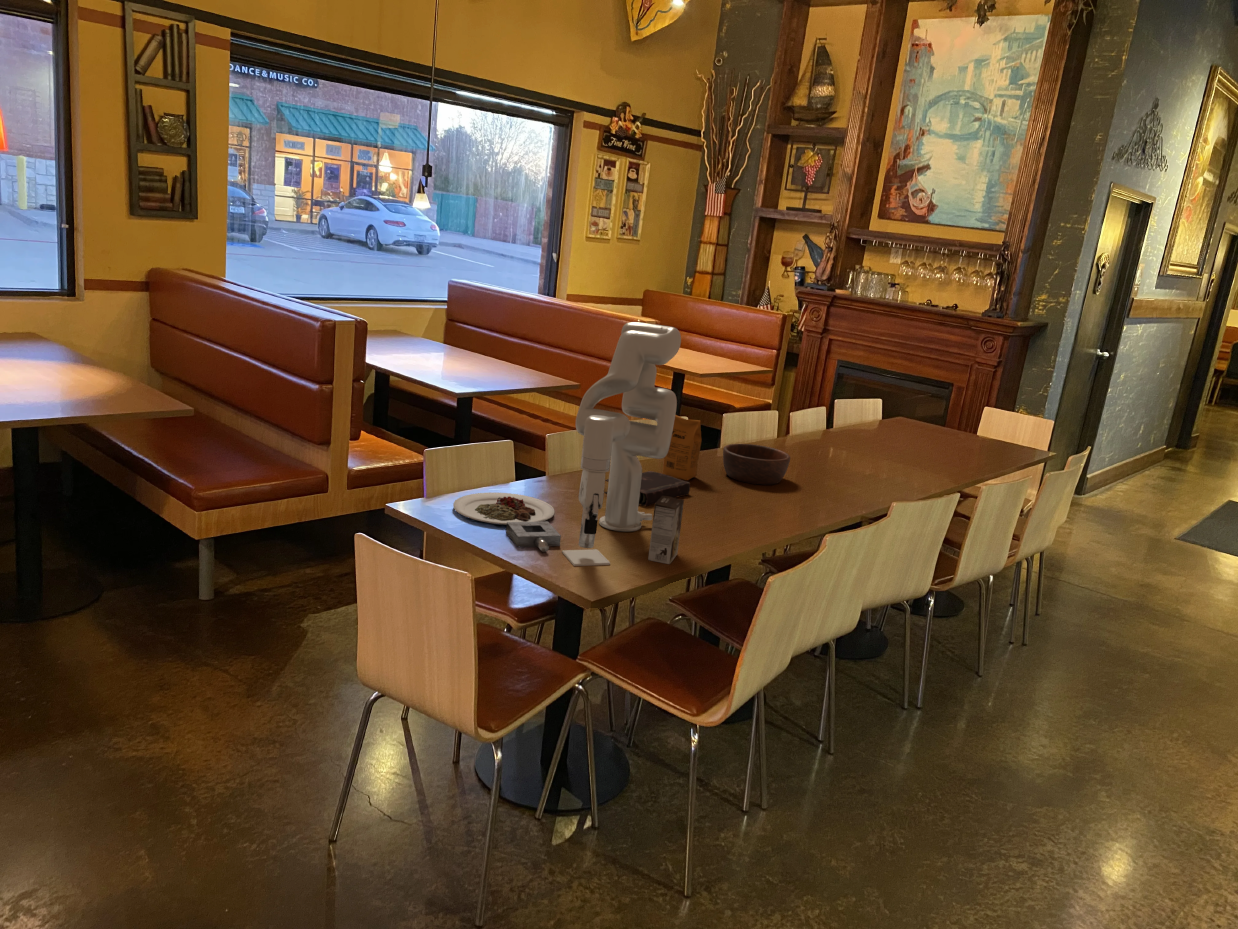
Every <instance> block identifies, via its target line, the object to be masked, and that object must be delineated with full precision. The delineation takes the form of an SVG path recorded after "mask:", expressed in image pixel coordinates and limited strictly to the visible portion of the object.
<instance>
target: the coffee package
mask: <svg viewBox="0 0 1238 929" xmlns="http://www.w3.org/2000/svg"><path fill="white" fill-rule="evenodd" d="M701 425H702V420H700V419H699V420H698V419H690V418H689V419H688V418H687V419H686V418H683V417H681V416H679V415H677V414H675V420H674V425H673V431H672V437H671V442H670V447H669V451H668V453H667V455H666V456H665V457H664V458H663V464H662V472H661V474H665V475H668V476H671V477H674V478H677V479H680V480H683V481H690V480H691V479H693V478H696V476H697V474H698V462H699V458H700V452H701V446H702V431H701V429H702V428H701Z"/></svg>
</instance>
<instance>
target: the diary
mask: <svg viewBox="0 0 1238 929" xmlns="http://www.w3.org/2000/svg"><path fill="white" fill-rule="evenodd" d="M605 482H608V483H609V478H608V479H607V478H606V479H605ZM690 490H691V483H690V482H689V481H687V480H680V479H677V478H674V477H671V476H668V475H665V474H662V472H656V471H652V470H650V471H649V470H648V471H644V472H642V479H641V488H640V496H639V505H640V506H643V507H647V506H650V505H653V504H654V505H655V503H656V502H657V501H658V500H659V499H660V498H661V497H662V496H669V497H674V498H679V497H683V496H687V495H689V494H690ZM607 493H608V491H604V495H607Z"/></svg>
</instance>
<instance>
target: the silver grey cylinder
mask: <svg viewBox="0 0 1238 929" xmlns="http://www.w3.org/2000/svg"><path fill="white" fill-rule="evenodd" d="M590 507H592V508H593V506H592V505H590ZM590 512H592V510H590ZM582 513H583V514H581V521H582V522H581V521H580V522H581V523H580V525H581V526H580V531H579V540H578V547H580V548H584V549H592V548H594V546H595V540H596V534H585V533H584V526H585V519H587V508H586V509H585V508H583V507H582Z"/></svg>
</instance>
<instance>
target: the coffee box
mask: <svg viewBox="0 0 1238 929" xmlns="http://www.w3.org/2000/svg"><path fill="white" fill-rule="evenodd" d="M684 502H685V499H682V498H678V497H676V498H674V497H669V496H662V497H661V498H660V499H659V500H658V501H657V502H656V503H654V508H653V515H652V523H651V524H652V526H651V534H650V541H649V542H650V543H649V550H648V556H647V557H648V558H647V559H648V561H652V562H656V563H661V564H666V565H671V563H672V562H673V561H674V559H675V558H676V556H677V555H678V552H679V544H680V543H679V542H680V535H681V528H682V520H683V519H682V518H683V512H684V511H683V510H684V505H685V504H684Z"/></svg>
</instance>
